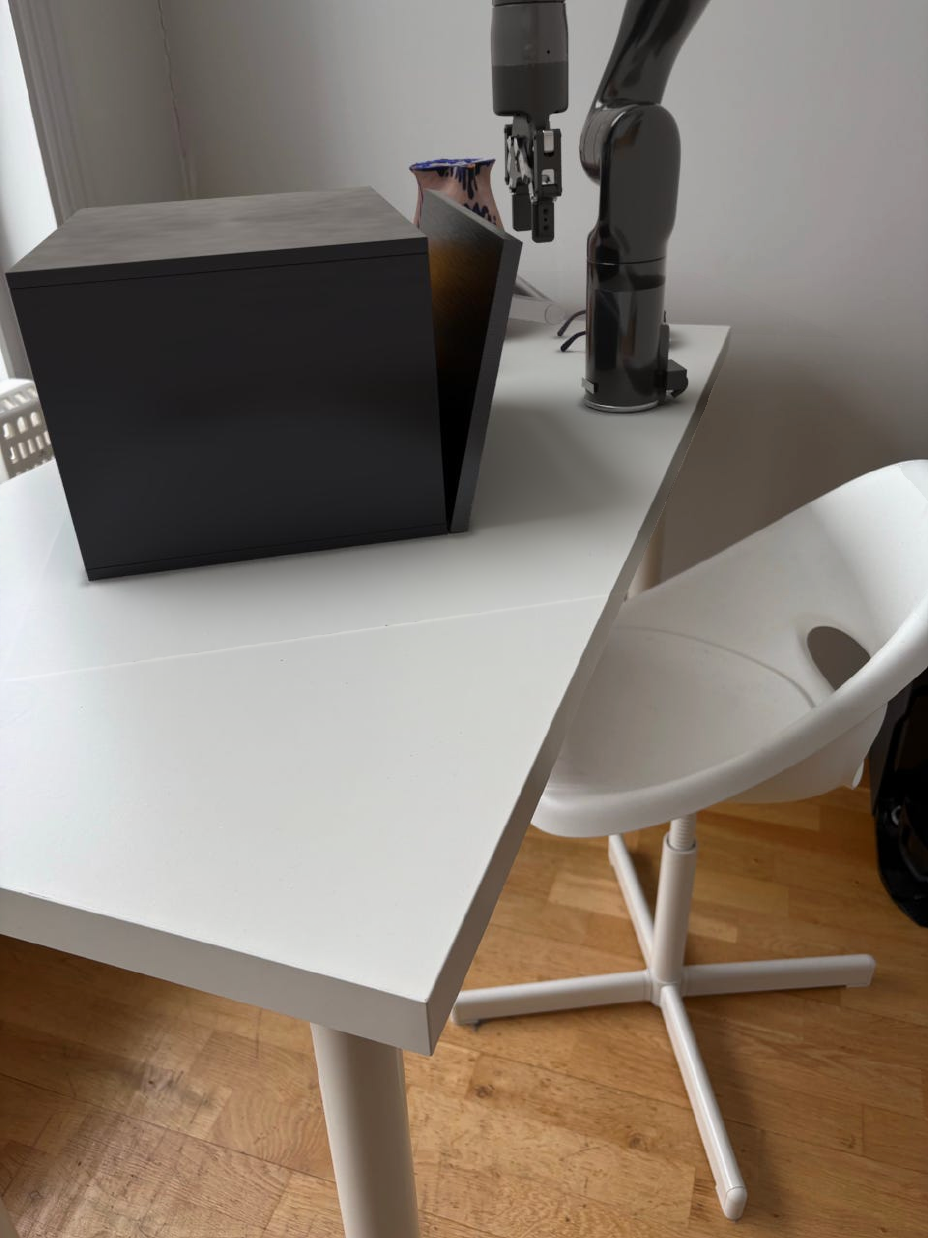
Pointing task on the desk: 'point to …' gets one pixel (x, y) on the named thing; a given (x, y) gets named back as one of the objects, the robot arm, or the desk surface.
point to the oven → (236, 377)
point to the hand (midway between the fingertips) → (532, 236)
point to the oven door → (471, 332)
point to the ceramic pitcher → (459, 185)
